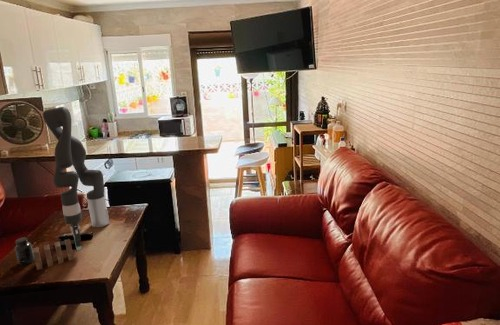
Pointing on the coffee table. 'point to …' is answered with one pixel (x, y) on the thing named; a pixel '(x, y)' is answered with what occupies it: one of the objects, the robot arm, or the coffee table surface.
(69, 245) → the domino
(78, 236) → the domino
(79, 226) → the robot arm
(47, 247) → the domino
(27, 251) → the supplement bottle
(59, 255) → the domino
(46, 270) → the coffee table surface
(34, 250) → the domino
